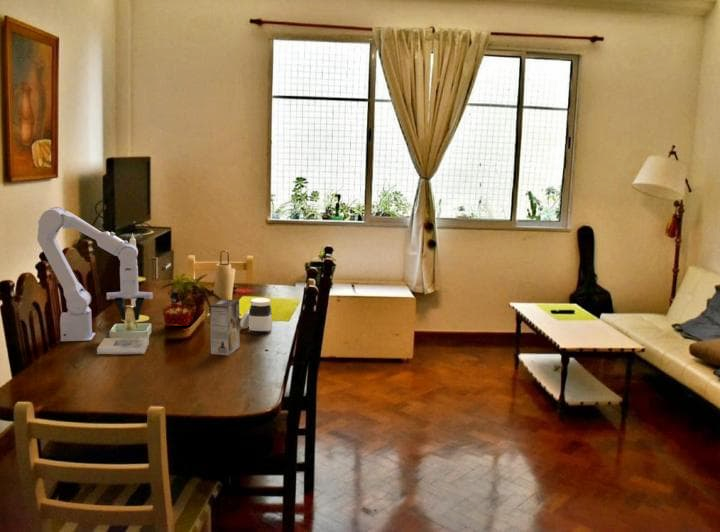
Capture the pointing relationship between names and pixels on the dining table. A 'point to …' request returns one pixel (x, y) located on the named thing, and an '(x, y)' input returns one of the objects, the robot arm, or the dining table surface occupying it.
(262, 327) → the spread jar
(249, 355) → the dining table surface
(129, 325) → the pin
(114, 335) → the tray
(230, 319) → the coffee box
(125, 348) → the block
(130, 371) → the dining table surface
